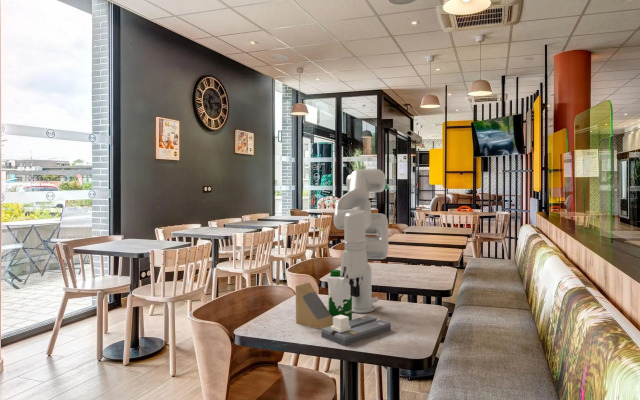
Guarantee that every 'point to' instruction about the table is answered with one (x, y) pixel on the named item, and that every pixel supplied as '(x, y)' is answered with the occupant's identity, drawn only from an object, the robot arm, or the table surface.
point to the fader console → (357, 330)
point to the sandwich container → (311, 308)
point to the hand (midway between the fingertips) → (355, 295)
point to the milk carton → (339, 295)
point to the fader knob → (340, 323)
